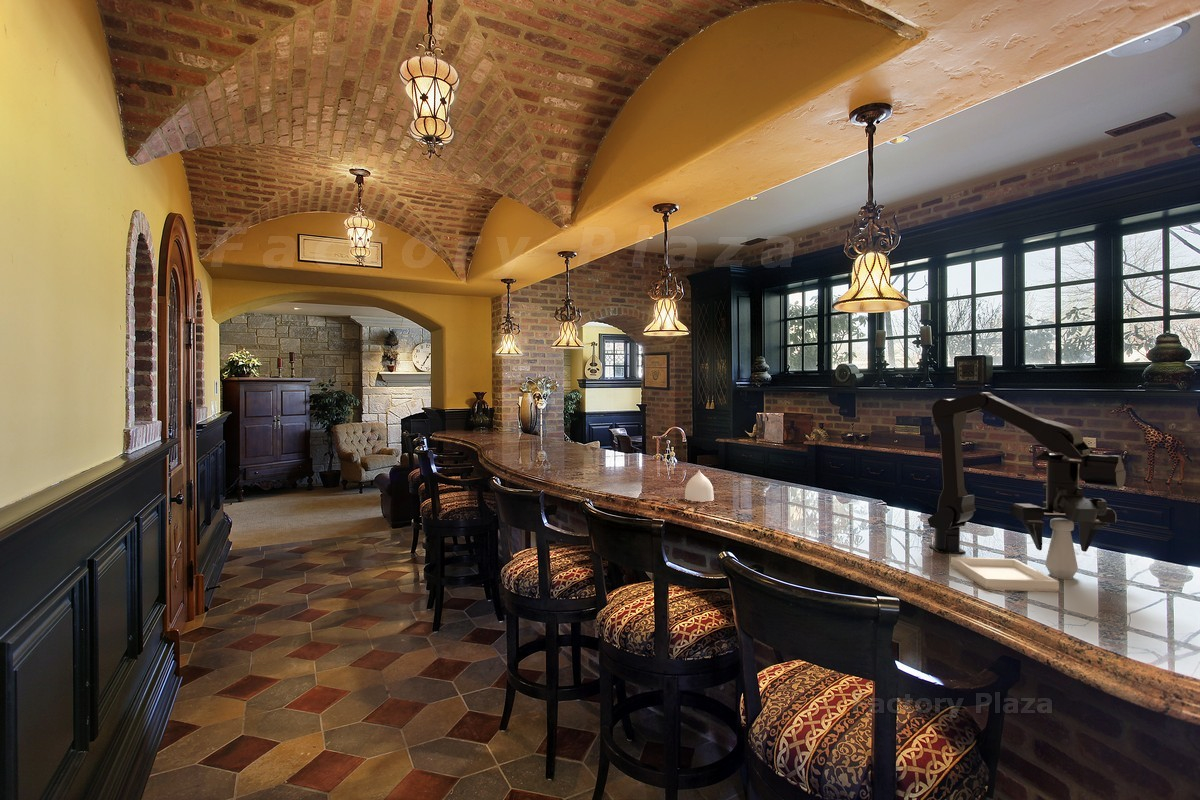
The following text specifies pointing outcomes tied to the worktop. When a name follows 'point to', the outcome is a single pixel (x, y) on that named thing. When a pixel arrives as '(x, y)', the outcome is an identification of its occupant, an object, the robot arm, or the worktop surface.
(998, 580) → the tray
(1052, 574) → the salt shaker
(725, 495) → the worktop surface
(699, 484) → the teardrop
